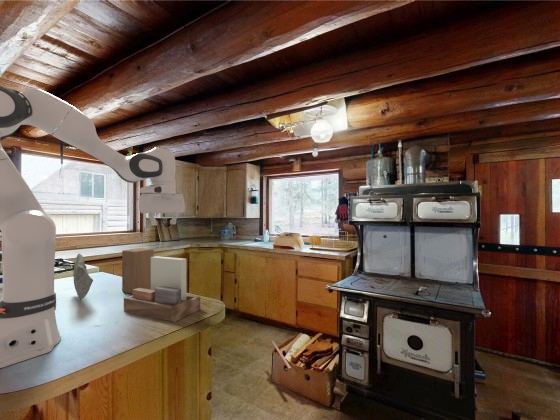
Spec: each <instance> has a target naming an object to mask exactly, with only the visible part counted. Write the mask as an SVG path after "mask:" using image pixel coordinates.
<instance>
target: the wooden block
mask: <svg viewBox="0 0 560 420" xmlns="http://www.w3.org/2000/svg"><path fill="white" fill-rule="evenodd" d="M121 257H122V258H121V261H122V262H121V265H122V268H121V271H122V272H121V273H122V274H121V279H122V281H121V283H122V284H121V288H122V290H121V291H122V293H127V294H132V295H133V289H137V288H144V289H150V290H151V257H154V249H153V248H144V247H137V248H131V249H123V250H122V251H121Z"/></svg>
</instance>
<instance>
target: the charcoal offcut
mask: <svg viewBox="0 0 560 420" xmlns="http://www.w3.org/2000/svg"><path fill="white" fill-rule="evenodd" d="M155 302H158V303H163V304H169V305H174V306H175V305H177V304H180V303H181V289H178V288H171V287H165V286H160V287H156V288H155Z"/></svg>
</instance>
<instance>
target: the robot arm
mask: <svg viewBox="0 0 560 420" xmlns="http://www.w3.org/2000/svg"><path fill="white" fill-rule="evenodd" d="M25 125H26V126H31V127H35V128H38V129H40V130H42V131H43V132H45V133H47V134H49V135H50V136H52V137H54V138H56V139H58V140H60V141H62V142H64V143H66V144H68V145H70V146H72V147H74V148H76V149H78V150H81V152H82V151H83V152H84V153H86V154H88V155H89V156H91V157H92V158H94V159H96V160H98V161H99V162H101V163H102V164H104V165H106V166H108V167H109V168H111V170H113V172H115V173H116V174H117V176H118V177H119V178H120V179H121V180H122V181H124V182H126V183H130V184H133V183H134V184H135V183H138V182H140V181H143V180H148V179H149V180H151V184H150V185H146V186H142V187H140V188H139V193H140V195H139V198H138V199H139V200H138V211H139V212H140V214H147V216H148V219H149V221H150V225H151V226H158V223H159V221H158V220H156V218H155V217H156V214H171V217H172V218H171V219H170V220H169V224H170V225H176V224H177V219H178V217H179V214H182V213H185V211H186V203H185V198H184V194H183V193H182V192H181V191H180V190H176V189H177V187H176V185H177V184H176V182H177V181H176V178H175V175H176V157H175V154H174V152H173V151H171V150H170V149H169V148H167V147H160V146H159V147H158V146H157V147H154V148H152V149H150V150H147V151H144V152H140V153H136V154H132V155H130V156H129V155H128V156H127V155H124V154H122V153H120V152H119V151H117V150H116V149H114V148H112V147H111V146H109V145H108V144H107V143H105V142H104V141H102V139H100V137H99V136H98V134H97V130H96V126H95V124H94V122H93V121H92V120H91V119H90V118H89V117H88V116H87V115H86V114H84V113H83V112H82V111H80V109H77V108H76V107H75V106H73V105H71V104H69V103H68V102H67V101H65V100H62V99H61V98H59V97H57V96H55V95H53V94H51V93H49V92H47V91H45V90H42V89H39V88H36V87H29V88H26V89H24V90H22V91H21V92H20V91H19V90H15V89H10V88H6V87H3V86H0V231H1V265H2V300H0V369H2V368H5V367H9V366H12V365H14V364H18V363H20V362H24V361H26V360H30V359H33V358H35V357H38V356H41V355H44V354H45V355H46V354H47V353H50V352H51V351H53V348H54V347H55V346H56V345H57V344H58V343H60V342H61V340H62V336H61V335H60V331H59V329H58V324H57V319H56V317H57V316H56V309H57V293H56V292H55V259H56V237H57V228H56V223H55V222H54V220H53V219H52V218H51V217H50V216H49V215H48V214H47V213H46V212H45V210H44V209H43V207H42V205H41V204H40V202H39V200H38V199H37V197H36V196H35V194H34V193H33V191H32V190H31V188H30V186H29V185H28V183H27V182H26V180H25V179H24V178H23V175H22V174H21V173H20V172H19V170H18V168H17V167H16V165H15V164H14V163H13V161H12V160H11V158H10V157H9V155H8V153H7V152H6V151H5V150H4V148H3V145H2V143H1V141H3V140H5V139H6V138H9V137H11V136H12V135H13V134H14V133H15V132H16V131H17V130H18V129H19V127H20V126H25Z"/></svg>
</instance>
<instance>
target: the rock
mask: <svg viewBox="0 0 560 420" xmlns="http://www.w3.org/2000/svg"><path fill="white" fill-rule="evenodd" d="M72 273H73V274H72V275H73V285H74V289H75V291H76V294H77V297H78V298H79V300H80V301H81V300H82V299H84V298H85V297H87V295H88V293H89V291H90V289H91V287H92V284H93V282H94V279H93V278H92V277H91V276H90V274H89V273H88V270H87V267H86V264H85V260H84V256H83V255H82V254H81V253H78V254H77V255H76V259H75V261H74V266H73V272H72Z"/></svg>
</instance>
